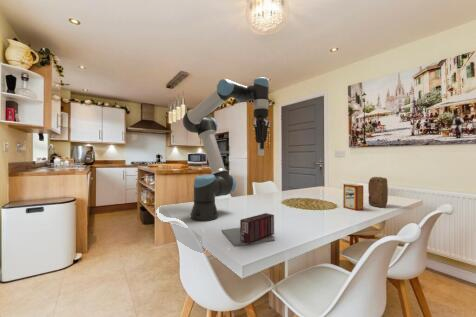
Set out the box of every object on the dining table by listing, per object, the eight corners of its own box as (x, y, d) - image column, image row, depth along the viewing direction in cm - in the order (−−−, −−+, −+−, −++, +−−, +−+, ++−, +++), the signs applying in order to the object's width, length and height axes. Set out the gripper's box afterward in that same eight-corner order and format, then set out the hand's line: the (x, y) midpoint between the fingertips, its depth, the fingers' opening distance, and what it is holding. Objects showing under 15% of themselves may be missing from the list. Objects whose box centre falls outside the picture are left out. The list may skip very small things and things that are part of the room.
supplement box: (265, 212, 96) (239, 219, 85) (274, 214, 92) (248, 221, 82) (266, 232, 96) (239, 241, 85) (274, 234, 92) (248, 244, 82)
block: (388, 207, 146) (389, 177, 146) (380, 208, 143) (381, 178, 143) (374, 204, 156) (374, 176, 156) (366, 204, 154) (366, 176, 153)
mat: (221, 231, 98) (221, 229, 98) (255, 227, 104) (255, 225, 104) (234, 246, 81) (234, 244, 81) (274, 240, 87) (274, 239, 87)
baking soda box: (343, 207, 145) (343, 183, 145) (349, 206, 148) (350, 183, 148) (356, 210, 136) (356, 185, 136) (363, 209, 139) (363, 184, 139)
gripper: (273, 107, 105) (273, 155, 105) (262, 112, 118) (261, 155, 118) (259, 105, 103) (259, 155, 103) (249, 111, 115) (249, 155, 115)
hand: (260, 155), depth 110 cm, fingers closed
